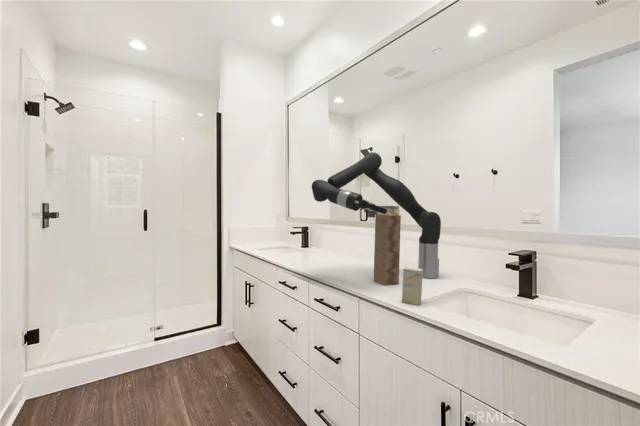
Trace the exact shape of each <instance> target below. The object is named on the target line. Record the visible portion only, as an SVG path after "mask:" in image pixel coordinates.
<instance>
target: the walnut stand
mask: <svg viewBox="0 0 640 426" xmlns="http://www.w3.org/2000/svg"><path fill="white" fill-rule="evenodd" d="M401 220H402V218H401V215H399V216H395V215H375V223H374V224H375V225H374V226H375V227H374V251H373V252H374V253H373V254H374V255H373V258H374V259H373V261H374V262H373V282H374V283H376V284H380V285H382V286H385V287H386V286H393V285H399V284H400V253H401V252H400V251H401V225H402V224H401Z"/></svg>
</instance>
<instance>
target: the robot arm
mask: <svg viewBox="0 0 640 426" xmlns="http://www.w3.org/2000/svg"><path fill="white" fill-rule="evenodd" d="M382 161H383V159H382V156H381V155H380V154H379V153H377V152H369V153H367V154H365V155H364V156H363V158H361V159H360V160H358V161H357V162H356V163H354V164H351V166H349V167H346V168H344V169H343V170H341V171H339V172H337V173H334V174H333V175H331V176H329V177H328V179H327V181H326V180H323V179H317V180H316V179H315V180H314V181H313V182H312V183H311V190H312V195H313V199H314V201H316V202H320V203H323V202H325V201H327V200H328V201H329V202H330V203H333V204H334V205H335V204H336V205H339V207H340V206H341V207H342V208H344V209H347V210H352V211H355V212H357V211H358V210H360V209H361V210H364V211H365V210H367V211H376V212H380V213H383V214H386V212H387V209H385V208H381V207H380V206H381V205H376V204H375V203H373V202H370V201H369V200H367V199H364V197H363V196H362V194H360V193H356V192H353V191H350V190H344V189H341V188H343V187H345V186H346V185H348V184H349V183H351V182H352V181H354V180H355V179H357V178H358V177H359V176H361V175H363V174H364V176H367V178H369V179H370V180H372V181H373V182H374V183H375V184H376V185H378V187H380V189H382V190H383V191H384V192H385V193H386V195H388V196H389V197H390V198H391V199H392V200H393V201H394V202H395V204H398V206H399V207H401V208H402V209H403V210H404V211H405V212H406V213H407V214H408V215H410V217H411V218H412V219H413V220H414V221H415V222H416V224H417V225H418V226H419V227H420V228H421V234H420V236H419V238H418V267H417V269H423V275H422V279H437V278H439V275H440V273H439V272H440V258H439V240H440V238H441V230H442V229H441V226H442V221H441V217H440V215H439V214H438V213H436V212H434V211H428V210H426V209H425V208H424V207H423V206H422V205H421V204H419V203H418V201H417V199H416V198H415V195H414V194H413V193H412V191H411V190H410V189H409V187H407V186H406V185H405V184H404V183H403V182H402V181H400V180H399V179H397V178H395V177H392V176H389V175H388V174H386V173H385V172H383V171H382V169H380V167H381V166H382Z"/></svg>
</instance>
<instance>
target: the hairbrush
mask: <svg viewBox="0 0 640 426" xmlns="http://www.w3.org/2000/svg"><path fill="white" fill-rule="evenodd" d="M379 206H380V207H381V208H385V209H387V212H386V214H383V213H380V212H376V211H369V210H368V211H369V212H368V213H369V215H372V216H376V215H395V216H400V208H399V207H400V205H379Z"/></svg>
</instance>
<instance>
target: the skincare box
mask: <svg viewBox="0 0 640 426" xmlns="http://www.w3.org/2000/svg"><path fill="white" fill-rule="evenodd" d="M402 273H403V274H402V290H401V291H402V293H401V295H402V296H401V303H405V304H411V305H416V306H420V305H421V303H422V293H423V292H422V289H423V278H422V275H423V269H418V267H416V268H415V267H408V266H406V267H404V268H403V272H402Z"/></svg>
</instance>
